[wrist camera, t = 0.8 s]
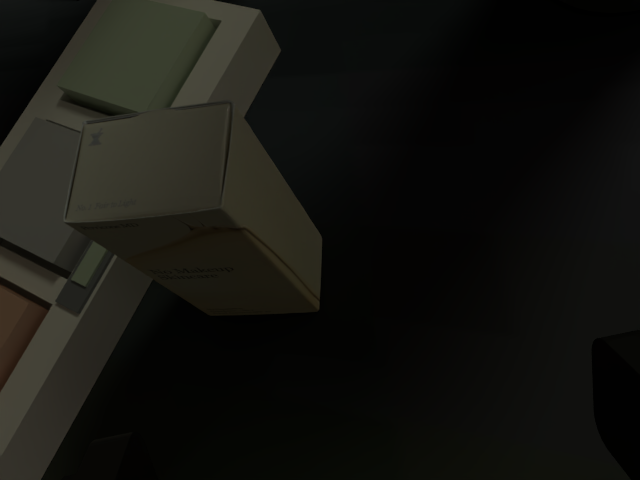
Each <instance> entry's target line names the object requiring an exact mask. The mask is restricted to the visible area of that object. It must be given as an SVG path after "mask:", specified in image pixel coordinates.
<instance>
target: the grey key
mask: <svg viewBox="0 0 640 480" xmlns="http://www.w3.org/2000/svg"><path fill="white" fill-rule="evenodd" d="M79 137H80V133H78V132H76V131H73V130H70V129H67V128H64V127H62V126H59V125H56V124H53V123H51V122H48V121H45V120H42V119H40V118H37V117H35V119H34V120H33V122H32V123H31V125H30V126H29V128H28V129H27V131H26V132H25V134H24V136H23V137H22V139H21V140H20V142H19V143H18V145H17V146H16V148H15V149H14V151H13V152H12V154H11V155H10V157H9V158H8V160H7V161H6V163H5V165H4V166H3V168H2V169H1V171H0V237H1V238H3V239H5V240H7V241H9V242H11V243H13V244H15V245H17V246H19V247H21V248H23V249H25V250H27V251H29V252H31V253H33V254H35V255H37V256H39V257H41V258H43V259H45V260H47V261H49V262H51V263H53V264H55V265H57V266H59V267H61V268H63V269H65V270H67V271H69V272H71V273H72V271H73V270H74V268H75V266H76V265H77V263H78V261H79V260H80V258H81V256H82V254H83V253H84V251H85V249H86V248H87V246H88V244H89V243H90V241H91V239H89V238H88V237H87V236H85V235H83V234H82V233H80V232H78V231H77V230H75V229H74V228H72V227H70V226H69V225H67V224H65V223H64V221H63V214H64V209H65V204H66V198H67V193H68V187H69V182H70V178H71V174H72V169H73V164H74V159H75V155H76V150H77V145H78V141H79Z"/></svg>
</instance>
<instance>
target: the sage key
mask: <svg viewBox="0 0 640 480" xmlns="http://www.w3.org/2000/svg"><path fill="white" fill-rule="evenodd" d="M215 31H216V29H215V27H214V26H213V24H212V23H211V21H210V20H209V18H208V16H207V15H206V13H204V12H200V11H195V10H191V9H186V8H182V7H177V6H173V5H168V4H164V3H159V2H154V1H150V0H112V1H111V3H110V4H109V6H108V7H107V9H106V10H105V12H104V13H103V15H102V16H101V18H100V19H99V21H98V22H97V24H96V25H95V27H94V29H93V30H92V32H91V33H90V35H89V36H88V38H87V39H86V41H85V42H84V44H83V45H82V47H81V48H80V50H79V51H78V53H77V55H76V56H75V58H74V59H73V61H72V62H71V64H70V65H69V67H68V68H67V70H66V71H65V73H64V74H63V76H62V77H61V79H60V81H59V82H58V84H57V85H56V86H58V87H59V88H60V89H61V90H62V91H63V92H64V93H65V94H66V95H68V96H69V97H70V98H71V99H72V100H73V101H74V102H75V103H77V104H80V105H83V106H86V107H89V108H92V109H95V110H98V111H101V112H104V113H107V114H110V115H113V116H118V115H124V114H131V113H137V112H143V111H148V110H154V109H161V108H169V107H171V105H172V104H173V102H174V100H175V98H176V97H177V95H178V93H179V92H180V90H181V88H182V87H183V85H184V83H185V82H186V80H187V78H188V77H189V75H190V73H191V72H192V70H193V68H194V67H195V65H196V63H197V62H198V60H199V58H200V57H201V55H202V53H203V52H204V50H205V48H206V46H207V45H208V43H209V41H210V40H211V38H212V36H213V35H214V33H215Z"/></svg>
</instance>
